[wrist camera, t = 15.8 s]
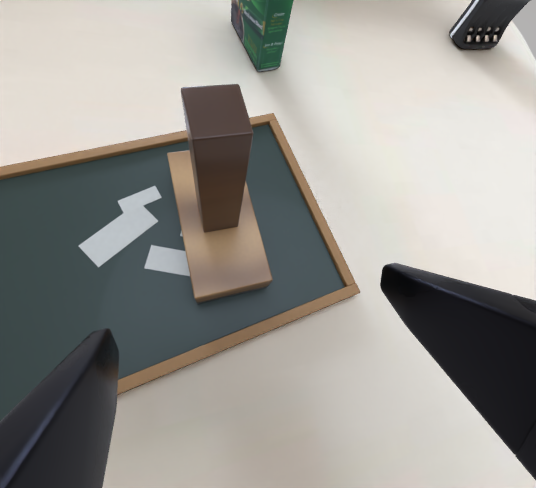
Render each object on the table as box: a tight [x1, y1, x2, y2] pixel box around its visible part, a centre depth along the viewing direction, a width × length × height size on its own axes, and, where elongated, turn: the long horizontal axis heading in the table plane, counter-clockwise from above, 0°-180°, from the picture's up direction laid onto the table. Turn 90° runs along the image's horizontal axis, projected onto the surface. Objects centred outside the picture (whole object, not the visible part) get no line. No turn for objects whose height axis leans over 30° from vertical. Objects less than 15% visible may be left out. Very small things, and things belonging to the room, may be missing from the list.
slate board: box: [0, 113, 360, 421], centre depth 21 cm, size 28×18×1 cm, turn 112°
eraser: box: [167, 84, 273, 304], centre depth 17 cm, size 11×5×12 cm, turn 15°
